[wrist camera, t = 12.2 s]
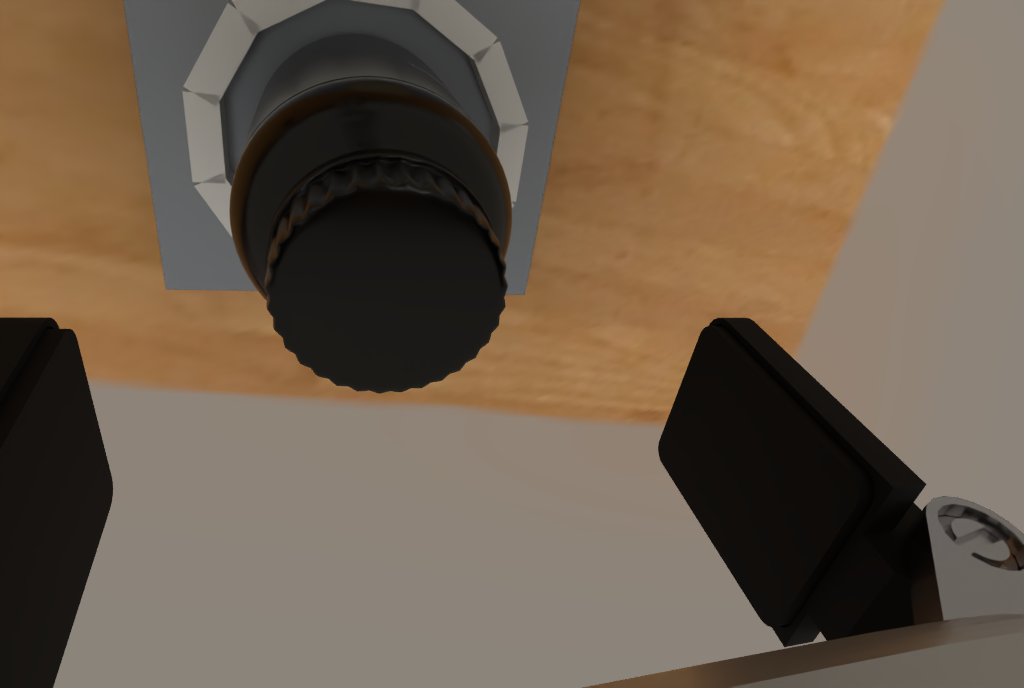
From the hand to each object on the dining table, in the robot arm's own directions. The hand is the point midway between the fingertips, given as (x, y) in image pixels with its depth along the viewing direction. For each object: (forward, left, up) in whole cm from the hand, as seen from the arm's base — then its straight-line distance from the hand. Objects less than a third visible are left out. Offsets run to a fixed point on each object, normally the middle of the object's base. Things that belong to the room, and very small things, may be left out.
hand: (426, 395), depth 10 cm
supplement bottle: (0, 0, -15) cm, 15 cm away
